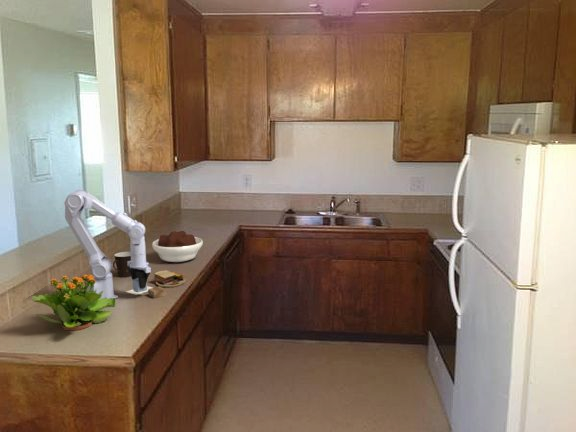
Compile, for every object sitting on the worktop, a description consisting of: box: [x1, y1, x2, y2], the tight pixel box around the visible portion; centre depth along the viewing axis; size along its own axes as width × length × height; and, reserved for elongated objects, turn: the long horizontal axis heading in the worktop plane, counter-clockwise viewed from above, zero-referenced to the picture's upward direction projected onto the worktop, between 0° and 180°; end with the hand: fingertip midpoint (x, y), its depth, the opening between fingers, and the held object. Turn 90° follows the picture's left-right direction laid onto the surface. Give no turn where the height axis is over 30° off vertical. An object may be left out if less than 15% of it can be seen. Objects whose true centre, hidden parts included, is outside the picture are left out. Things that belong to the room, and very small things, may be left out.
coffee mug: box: [112, 251, 132, 279], centre depth 240 cm, size 12×9×10 cm
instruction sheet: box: [125, 285, 153, 296], centre depth 221 cm, size 10×7×1 cm
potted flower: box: [31, 274, 116, 331], centre depth 181 cm, size 25×24×18 cm
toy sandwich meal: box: [152, 269, 186, 288], centre depth 230 cm, size 12×14×5 cm
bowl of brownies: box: [151, 230, 204, 263], centre depth 266 cm, size 25×25×15 cm
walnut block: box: [147, 286, 167, 300], centre depth 214 cm, size 5×5×3 cm
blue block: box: [132, 278, 148, 293], centre depth 212 cm, size 4×4×4 cm
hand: (139, 286), depth 212 cm, fingers closed on blue block, 4 cm apart
